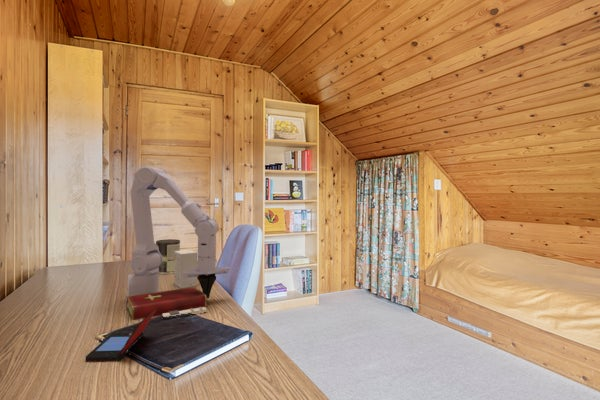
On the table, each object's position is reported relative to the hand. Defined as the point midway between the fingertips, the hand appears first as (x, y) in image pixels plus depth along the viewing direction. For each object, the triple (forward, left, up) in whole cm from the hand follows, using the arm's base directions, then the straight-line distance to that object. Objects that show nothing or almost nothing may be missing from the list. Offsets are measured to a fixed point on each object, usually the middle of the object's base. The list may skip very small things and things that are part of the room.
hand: (206, 297), depth 107 cm
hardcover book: (-12, +1, -2) cm, 12 cm away
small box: (-2, +24, -2) cm, 24 cm away
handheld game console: (-25, -23, -2) cm, 34 cm away
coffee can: (-4, +51, -2) cm, 51 cm away
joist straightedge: (-9, -9, -1) cm, 12 cm away
